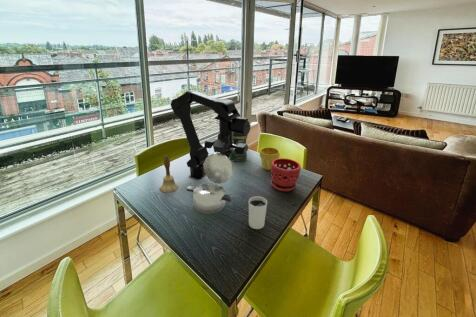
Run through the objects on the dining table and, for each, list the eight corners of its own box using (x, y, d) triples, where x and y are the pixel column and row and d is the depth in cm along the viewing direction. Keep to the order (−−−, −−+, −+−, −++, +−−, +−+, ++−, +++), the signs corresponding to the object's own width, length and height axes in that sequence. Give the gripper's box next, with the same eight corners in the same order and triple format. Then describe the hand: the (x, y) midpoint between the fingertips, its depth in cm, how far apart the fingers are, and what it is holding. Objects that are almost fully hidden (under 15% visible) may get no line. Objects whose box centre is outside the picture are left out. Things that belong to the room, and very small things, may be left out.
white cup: (245, 227, 93) (246, 204, 89) (250, 216, 99) (252, 194, 95) (262, 231, 91) (264, 208, 87) (267, 220, 97) (269, 198, 92)
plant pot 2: (292, 196, 112) (295, 172, 107) (265, 188, 118) (267, 165, 113) (301, 183, 122) (304, 161, 117) (275, 176, 128) (277, 155, 123)
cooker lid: (204, 150, 107) (207, 149, 110) (202, 180, 111) (205, 178, 113) (233, 156, 103) (235, 155, 105) (230, 186, 106) (232, 184, 109)
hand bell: (182, 185, 119) (179, 154, 112) (170, 194, 112) (167, 161, 105) (168, 181, 122) (164, 150, 115) (156, 189, 115) (151, 157, 108)
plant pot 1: (277, 172, 132) (279, 155, 128) (257, 170, 134) (258, 153, 130) (278, 164, 141) (280, 148, 137) (260, 162, 143) (261, 146, 139)
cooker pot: (180, 206, 104) (179, 194, 101) (197, 190, 115) (196, 178, 113) (224, 219, 97) (224, 206, 94) (238, 200, 108) (238, 188, 106)
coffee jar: (231, 162, 142) (231, 131, 134) (228, 156, 149) (228, 126, 141) (248, 161, 144) (249, 130, 136) (244, 155, 151) (245, 125, 143)
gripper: (197, 133, 104) (198, 167, 111) (239, 139, 98) (238, 175, 105) (209, 125, 114) (210, 157, 120) (249, 131, 108) (247, 164, 114)
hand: (226, 163), depth 115 cm, fingers closed
